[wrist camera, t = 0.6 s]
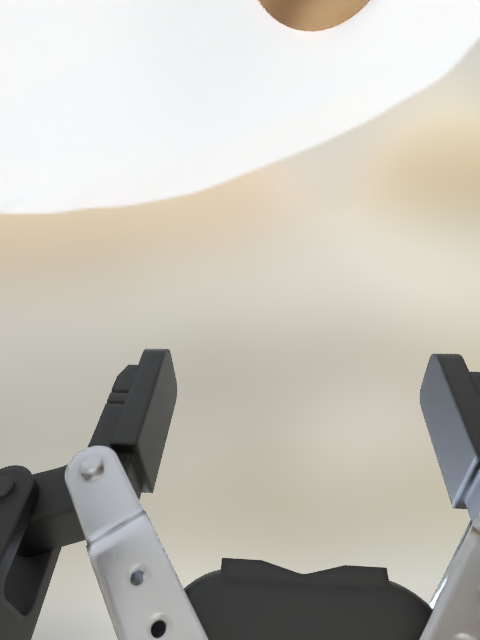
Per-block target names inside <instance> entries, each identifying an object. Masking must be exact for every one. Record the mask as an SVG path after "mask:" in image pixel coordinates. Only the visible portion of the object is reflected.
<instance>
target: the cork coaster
mask: <svg viewBox="0 0 480 640" xmlns="http://www.w3.org/2000/svg"><path fill="white" fill-rule="evenodd" d="M258 1H259V2H260V4H261V5H262V6H263V8H264V9H265V10H266V11H267V12H268V13H269V14H270V15H271V16H272V17H273V18H274V19H276V20H277V21H278V22H280V23H282V24H284V25H285V26H287V27H290V28H293V29H296V30H301V31H320V30H325V29H329V28H332V27H334V26H337V25H339V24H341V23H343V22H345V21H346V20H348V19H350V18H351V17H352V16H354V15H355V14H356V13H358V12H359V11H360V10H361V9H362V8H363V7H364V6H365V5H366V4H367V3H368V2H369V1H370V0H258Z"/></svg>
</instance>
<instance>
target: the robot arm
mask: <svg viewBox="0 0 480 640" xmlns="http://www.w3.org/2000/svg"><path fill="white" fill-rule="evenodd" d="M176 397H177V382H176V377H175V372H174V367H173V363H172V358H171V354H170V351H169V349H145V350H144V352H143V354H142V356H141V359H140V362H139V365H128V366H127V367H126V368H125V369H124V370H123V371H122V372H121V373H120V374H119V375H118V376H117V379H116V381H115V383H114V385H113V388H112V392H111V393H110V395H109V398H108V400H107V404H106V405H105V407H104V410H103V412H102V414H101V417H100V419H99V422H98V424H97V427H96V429H95V431H94V434H93V436H92V439H91V441H90V443H89V445H88V447H87V448H86V449H84V450H82V451H80V452H79V453H77V454H76V455H75V456H74V457H73V458H72V459H71V461H70V462H69V463H68V465H65V466H63V467H60V468H57V469H53V470H49V471H45V472H41V473H37V474H33V475H32V474H31V472H30V471H29V470H28V469H27V468H25V467H23V466H17V465H15V466H8V467H5V468H2V469H0V640H31V638H32V635H33V632H34V629H35V625H36V623H37V620H38V617H39V614H40V611H41V608H42V605H43V602H44V599H45V596H46V593H47V590H48V586H49V583H50V580H51V577H52V574H53V571H54V568H55V565H56V562H57V559H58V556H59V553H60V550H61V547H62V546H66V545H69V544H73V543H76V542H79V541H83V540H86V541H87V546H86V547H87V551H88V555H89V558H90V561H91V564H92V567H93V570H94V572H95V575H96V578H97V581H98V584H99V587H100V590H101V593H102V595H103V598H104V601H105V604H106V607H107V610H108V613H109V615H110V618H111V621H112V624H113V627H114V630H115V633H116V635H117V638H118V640H480V372H469V370H468V368H467V366H466V364H465V362H464V359H463V358H462V356H461V355H459V354H432V355H431V357H430V359H429V363H428V366H427V369H426V372H425V376H424V379H423V382H422V385H421V389H420V404H421V409H422V411H423V415H424V419H425V422H426V425H427V428H428V431H429V434H430V437H431V441H432V444H433V447H434V450H435V453H436V457H437V459H438V463H439V466H440V469H441V472H442V475H443V479H444V482H445V485H446V488H447V491H448V495H449V498H450V501H451V504H452V507H453V508H459V509H468V512H469V515H470V518H471V520H470V522H469V524H468V526H467V528H466V530H465V532H464V534H463V536H462V538H461V540H460V543H459V544H458V547H457V549H456V551H455V553H454V555H453V557H452V559H451V561H450V563H449V565H448V567H447V569H446V571H445V573H444V575H443V577H442V579H441V581H440V583H439V585H438V587H437V589H436V591H435V593H434V595H433V596H432V598H431V600H430V602H429V604H427V603H426V602H425V601H424V600H422V599H421V598H420V597H419V596H417V595H416V594H415V593H413V592H411V591H410V590H408V589H407V588H405V587H403V586H401V585H399V584H397V583H394V582H392V581H389V579H388V574H387V568H380V567H363V566H347V565H345V566H340V567H336V568H332V569H327V570H323V571H318V572H314V573H309V574H300V573H296V572H293V571H291V570H288V569H285V568H282V567H279V566H276V565H273V564H271V563H268V562H265V561H261V560H246V559H231V558H222V566H221V570H217V571H213V572H210V573H208V574H205V575H203V576H201V577H200V578H198V579H196V580H194V581H193V582H192V583H190V584H189V585H188V586H187V587H185V588H184V589H183V587H182V585H181V583H180V581H179V579H178V576H177V574H176V572H175V570H174V568H173V566H172V564H171V562H170V560H169V558H168V556H167V554H166V552H165V550H164V548H163V546H162V544H161V542H160V540H159V538H158V535H157V533H156V531H155V529H154V527H153V525H152V523H151V521H150V519H149V517H148V515H147V514H146V512H145V511H144V510H143V508H142V506H141V504H140V502H139V499H140V495H141V492H144V493H153V490H154V486H155V482H156V478H157V474H158V470H159V466H160V462H161V458H162V454H163V450H164V446H165V442H166V438H167V434H168V430H169V426H170V422H171V418H172V414H173V410H174V406H175V402H176Z"/></svg>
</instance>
